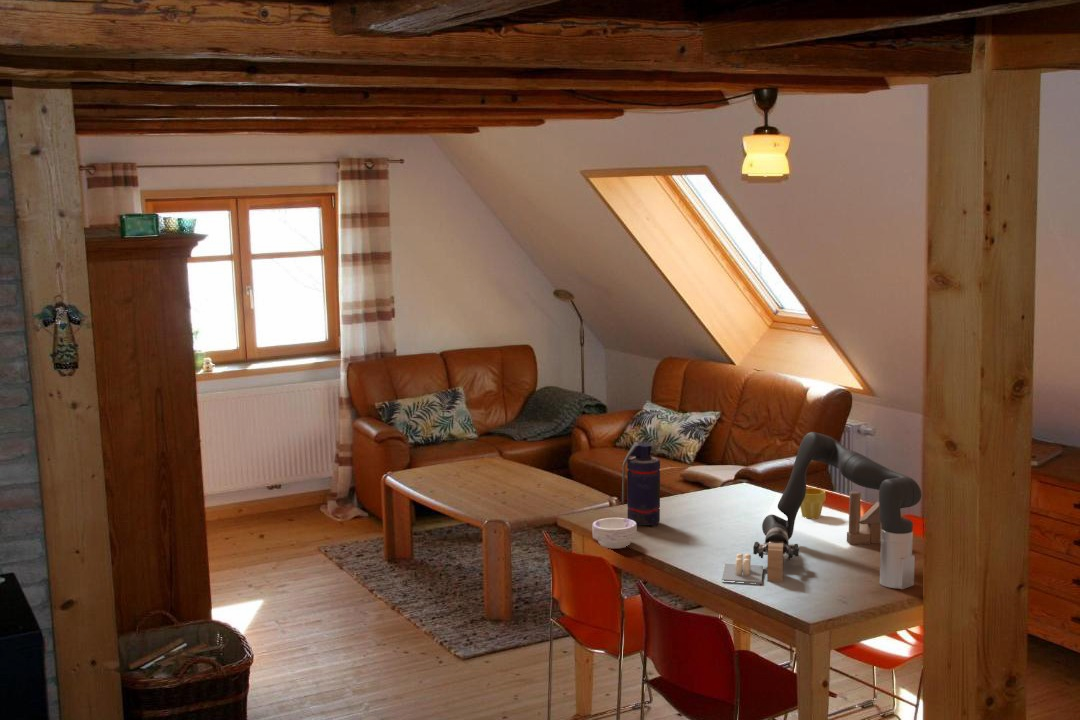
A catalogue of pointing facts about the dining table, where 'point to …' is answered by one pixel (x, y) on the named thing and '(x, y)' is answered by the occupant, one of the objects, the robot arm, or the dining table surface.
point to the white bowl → (614, 532)
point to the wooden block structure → (863, 522)
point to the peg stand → (743, 571)
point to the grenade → (642, 485)
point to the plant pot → (813, 503)
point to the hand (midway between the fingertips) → (775, 556)
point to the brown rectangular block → (775, 562)
